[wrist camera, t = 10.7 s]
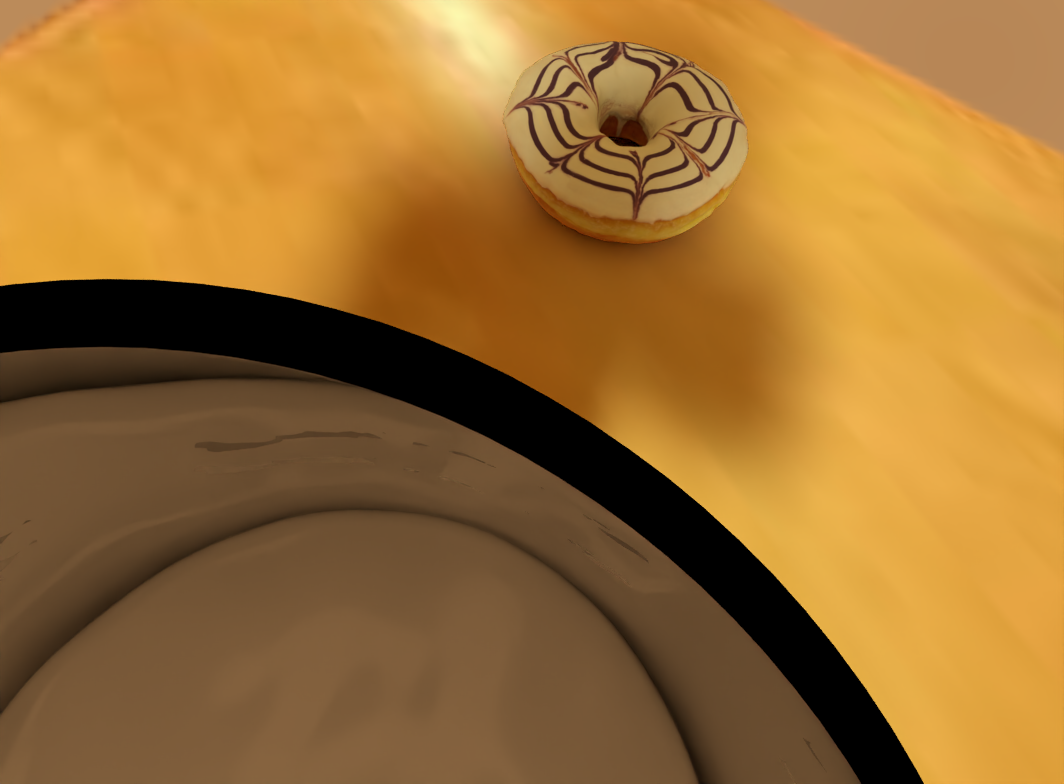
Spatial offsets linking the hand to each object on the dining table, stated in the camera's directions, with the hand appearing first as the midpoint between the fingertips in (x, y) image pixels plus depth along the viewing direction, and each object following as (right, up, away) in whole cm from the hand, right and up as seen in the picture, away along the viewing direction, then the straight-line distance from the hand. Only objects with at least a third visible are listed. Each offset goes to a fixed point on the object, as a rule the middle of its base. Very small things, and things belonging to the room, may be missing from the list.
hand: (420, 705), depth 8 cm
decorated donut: (+6, +15, +20) cm, 26 cm away
